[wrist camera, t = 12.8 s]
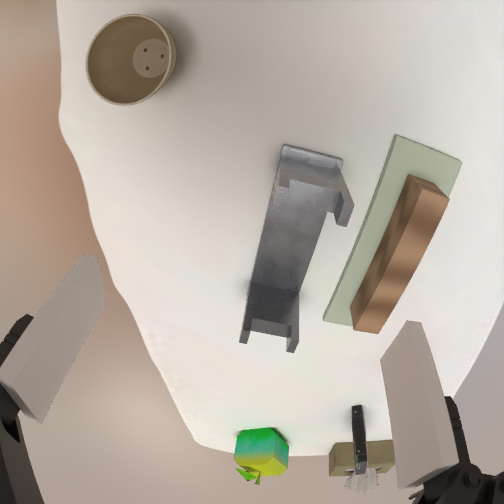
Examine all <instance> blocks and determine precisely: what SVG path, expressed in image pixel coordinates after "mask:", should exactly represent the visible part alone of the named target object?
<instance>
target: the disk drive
mask: <svg viewBox="0 0 504 504" xmlns="http://www.w3.org/2000/svg"><path fill="white" fill-rule="evenodd" d="M352 432H353V444H354V458H355V473H356V475H361V474H365V473H366V470H367V464H368V456H367V451H368V448H367V443H366V428H365V420H364V413H363V410H362V406H354V407H352Z"/></svg>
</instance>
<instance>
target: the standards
mask: <svg viewBox="0 0 504 504" xmlns="http://www.w3.org/2000/svg"><path fill="white" fill-rule="evenodd" d="M342 164H343V160H342V159H340V158H336V157H333V156H329V155H325V154H322V153H318V152H314V151H310V150H306V149H302V148H298V147H294V146H290V145H285V144H284V145H283V149H282V154H281V158H280V162H279V166H278V170H277V175H276V179H275V183H274V187H273V191H272V195H271V199H270V204H269V208H268V212H267V216H266V220H265V224H264V228H263V233H262V237H261V241H260V245H259V249H258V253H257V257H256V261H255V265H254V269H253V274H252V278H251V282H250V286H249V290H248V294H247V299H246V306H245V312H244V318H243V323H242V329H241V334H240V340H239V343H244V344H247V341H248V338H249V334H250V330H251V331H256V332H261V333H266V334H271V335H276V336H281V337H287V345H286V352H291V353H294V351H295V349H296V347H297V345H298V342H299V291H300V288H301V285H302V283H303V280H304V277H305V275H306V272H307V269H308V266H309V263H310V261H311V258H312V255H313V252H314V249H315V246H316V244H317V241H318V238H319V235H320V232H321V229H322V226H323V223H324V220H325V217H326V214H327V211H328V212H332V213H334V216H335V220H336V224H337V225H341V226H345V227H347V224H348V221H349V219H350V216H351V213H352V210H353V208H354V202H353V200H352V198H351V195H350V193H349V190H348V188H347V186H346V183H345V181H344V179H343V176H342V174H341V172H340V171H341V168H342Z"/></svg>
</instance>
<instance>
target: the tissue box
mask: <svg viewBox="0 0 504 504" xmlns="http://www.w3.org/2000/svg"><path fill="white" fill-rule="evenodd" d="M366 443H367V448H368V451H367V456H368V464H367V470H366V473H365V474H361V475H356V473H355V458H354V444H353V442H344V443H335V445H334V446H333V448H332V450H331V452H330V453H329V476H350V477H349V478H348V479H347V481H346V483H345V485H344V486H345V487H347V488H348V489H350V490H356V491H357V492H358V493H360V494H365V493H366V491H368V490H370V489H375V488H376V487H377V486H378V485H379V484H378V476H377V474H378V473H386V472H387V471H388V470H389V469H391V467H393V466H394V465H395V464H396V463H395V454H394V445H393V440H382V441H367V442H366Z"/></svg>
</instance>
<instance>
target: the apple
mask: <svg viewBox="0 0 504 504" xmlns="http://www.w3.org/2000/svg"><path fill="white" fill-rule="evenodd" d="M288 453H289V446H288V445H287V444H286V443H285V442H284V441H283V440H282V439H281V438H280V437H279V436H278V435H277V434H276V433H275V432H274V431H273V430H272V429H271V428H270V427H268V428H260V429H250V430H244V431H243V432H242V433H240V434H239V435H238V436H237V442H236V448H235V455H234V460H235V461H236V462H237V463H238V465H239V466H241V467H243V468H244V469H245V470H247V471H244V470H240V469H236V470H237V471H238V472H239V473H240V474H241V475H242V476H243V477H244V478H245V479H246V480H247V481H250V480H252V479H255V478H257V480H256V483H255V484H258V485H259V483H260V476H274V475H281V474H282V473H283V472H284V471H285V470H287V468H288ZM257 476H258V477H257Z"/></svg>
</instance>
